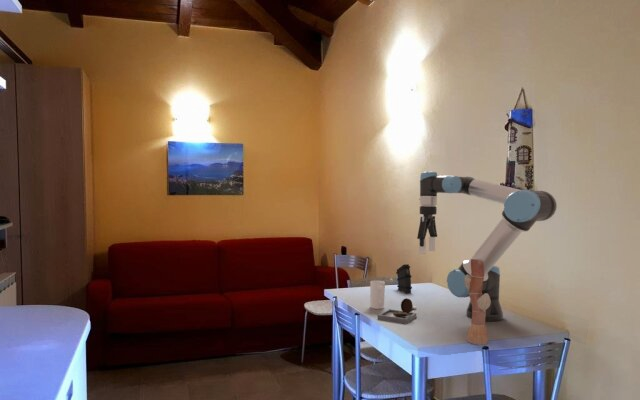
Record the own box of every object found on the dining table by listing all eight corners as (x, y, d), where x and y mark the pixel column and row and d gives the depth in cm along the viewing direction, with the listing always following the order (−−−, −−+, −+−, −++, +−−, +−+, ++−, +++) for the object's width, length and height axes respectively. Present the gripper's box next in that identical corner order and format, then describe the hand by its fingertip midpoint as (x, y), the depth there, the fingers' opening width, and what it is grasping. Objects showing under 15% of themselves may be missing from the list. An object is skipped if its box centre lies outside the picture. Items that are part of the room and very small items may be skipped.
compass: (390, 315, 205) (389, 298, 206) (403, 315, 210) (402, 298, 211) (404, 316, 199) (403, 298, 200) (417, 316, 203) (416, 298, 204)
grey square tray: (416, 317, 208) (416, 313, 208) (406, 323, 198) (406, 319, 197) (389, 313, 215) (389, 309, 215) (377, 319, 204) (377, 314, 204)
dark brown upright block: (408, 291, 255) (403, 264, 261) (398, 297, 267) (394, 271, 273) (414, 291, 256) (409, 264, 262) (404, 297, 267) (400, 271, 274)
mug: (367, 306, 228) (368, 280, 227) (380, 305, 229) (381, 280, 229) (376, 311, 218) (376, 284, 218) (389, 310, 220) (390, 284, 220)
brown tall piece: (493, 344, 171) (494, 260, 171) (474, 345, 170) (476, 260, 169) (477, 336, 182) (479, 256, 181) (459, 337, 180) (461, 256, 180)
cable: (416, 309, 223) (416, 306, 223) (405, 315, 211) (405, 312, 211) (411, 308, 224) (411, 305, 224) (400, 314, 213) (400, 311, 213)
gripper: (428, 205, 232) (427, 249, 233) (410, 205, 211) (409, 254, 211) (444, 205, 228) (443, 250, 229) (427, 206, 207) (426, 255, 207)
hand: (427, 252), depth 220 cm, fingers open, 13 cm apart
